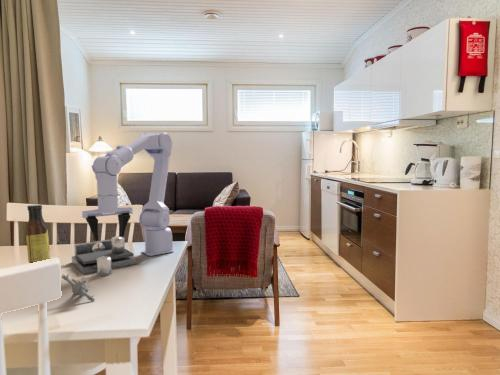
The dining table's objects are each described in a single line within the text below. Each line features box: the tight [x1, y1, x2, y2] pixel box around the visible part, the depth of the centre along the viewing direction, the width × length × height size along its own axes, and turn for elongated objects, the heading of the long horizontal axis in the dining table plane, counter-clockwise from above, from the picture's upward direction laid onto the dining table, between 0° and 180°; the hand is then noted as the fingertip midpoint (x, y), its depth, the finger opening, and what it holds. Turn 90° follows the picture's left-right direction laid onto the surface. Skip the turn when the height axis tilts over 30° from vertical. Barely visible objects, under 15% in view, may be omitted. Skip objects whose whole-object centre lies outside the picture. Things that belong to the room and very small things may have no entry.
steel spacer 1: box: [96, 256, 113, 277], centre depth 107 cm, size 4×4×5 cm
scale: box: [71, 238, 137, 275], centre depth 118 cm, size 16×16×6 cm
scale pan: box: [77, 248, 134, 264], centre depth 116 cm, size 15×10×1 cm, turn 128°
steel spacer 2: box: [111, 236, 126, 254], centre depth 118 cm, size 4×4×5 cm
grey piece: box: [61, 273, 96, 302], centre depth 88 cm, size 10×6×9 cm
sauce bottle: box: [25, 203, 51, 264], centre depth 117 cm, size 7×6×20 cm
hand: (109, 238), depth 111 cm, fingers open, 7 cm apart
